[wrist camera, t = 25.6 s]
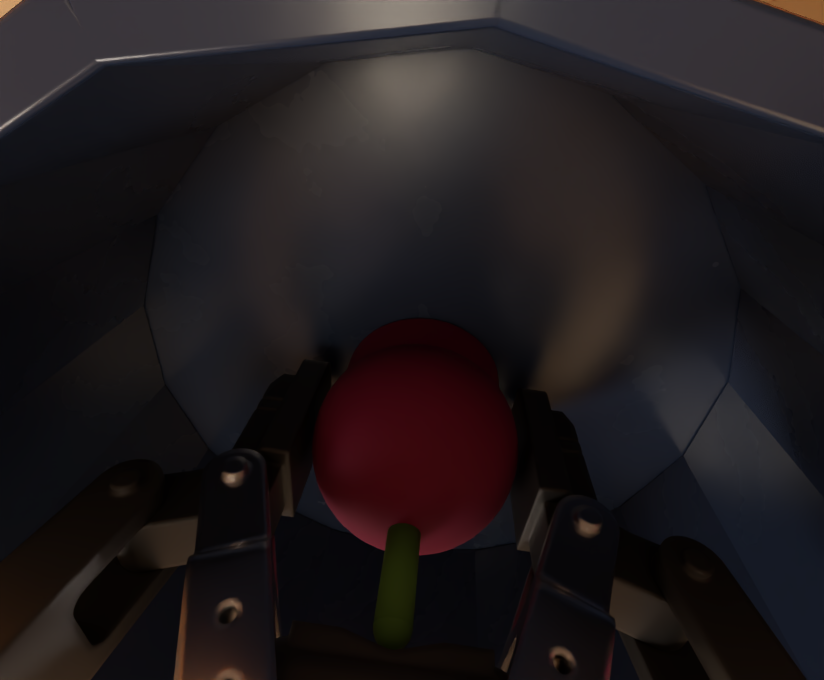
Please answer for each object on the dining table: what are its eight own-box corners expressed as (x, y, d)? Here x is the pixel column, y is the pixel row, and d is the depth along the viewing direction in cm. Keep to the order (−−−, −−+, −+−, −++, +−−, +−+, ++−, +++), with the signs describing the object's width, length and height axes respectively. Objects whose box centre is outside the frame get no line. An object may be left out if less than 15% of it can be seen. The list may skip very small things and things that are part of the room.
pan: (931, 65, 9) (2118, 78, 2) (614, 574, 19) (691, 834, 12) (46, -34, 9) (-826, -230, 3) (195, 513, 19) (65, 734, 13)
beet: (527, 320, 12) (594, 590, 6) (490, 452, 15) (510, 729, 9) (340, 296, 12) (217, 535, 6) (338, 431, 15) (253, 689, 9)
